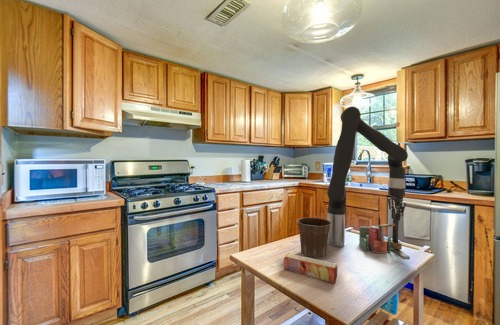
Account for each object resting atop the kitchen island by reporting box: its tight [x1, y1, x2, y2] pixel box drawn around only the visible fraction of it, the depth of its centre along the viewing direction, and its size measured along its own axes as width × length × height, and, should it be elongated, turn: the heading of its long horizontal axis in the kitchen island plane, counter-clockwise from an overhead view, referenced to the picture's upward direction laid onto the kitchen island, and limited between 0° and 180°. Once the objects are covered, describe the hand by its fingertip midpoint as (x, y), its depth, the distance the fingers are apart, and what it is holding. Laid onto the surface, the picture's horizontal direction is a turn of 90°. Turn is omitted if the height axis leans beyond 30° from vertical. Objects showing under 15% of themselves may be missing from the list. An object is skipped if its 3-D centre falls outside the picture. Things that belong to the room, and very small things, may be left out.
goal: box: [358, 226, 392, 254], centre depth 125 cm, size 12×10×10 cm
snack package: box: [283, 252, 338, 284], centre depth 96 cm, size 21×7×7 cm, turn 58°
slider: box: [372, 207, 403, 254], centre depth 122 cm, size 15×8×22 cm, turn 85°
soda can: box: [368, 224, 385, 251], centre depth 123 cm, size 7×7×12 cm
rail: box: [391, 248, 411, 259], centre depth 120 cm, size 3×15×1 cm, turn 175°
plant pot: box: [296, 217, 331, 259], centre depth 117 cm, size 16×16×16 cm
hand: (395, 219), depth 123 cm, fingers open, 3 cm apart
